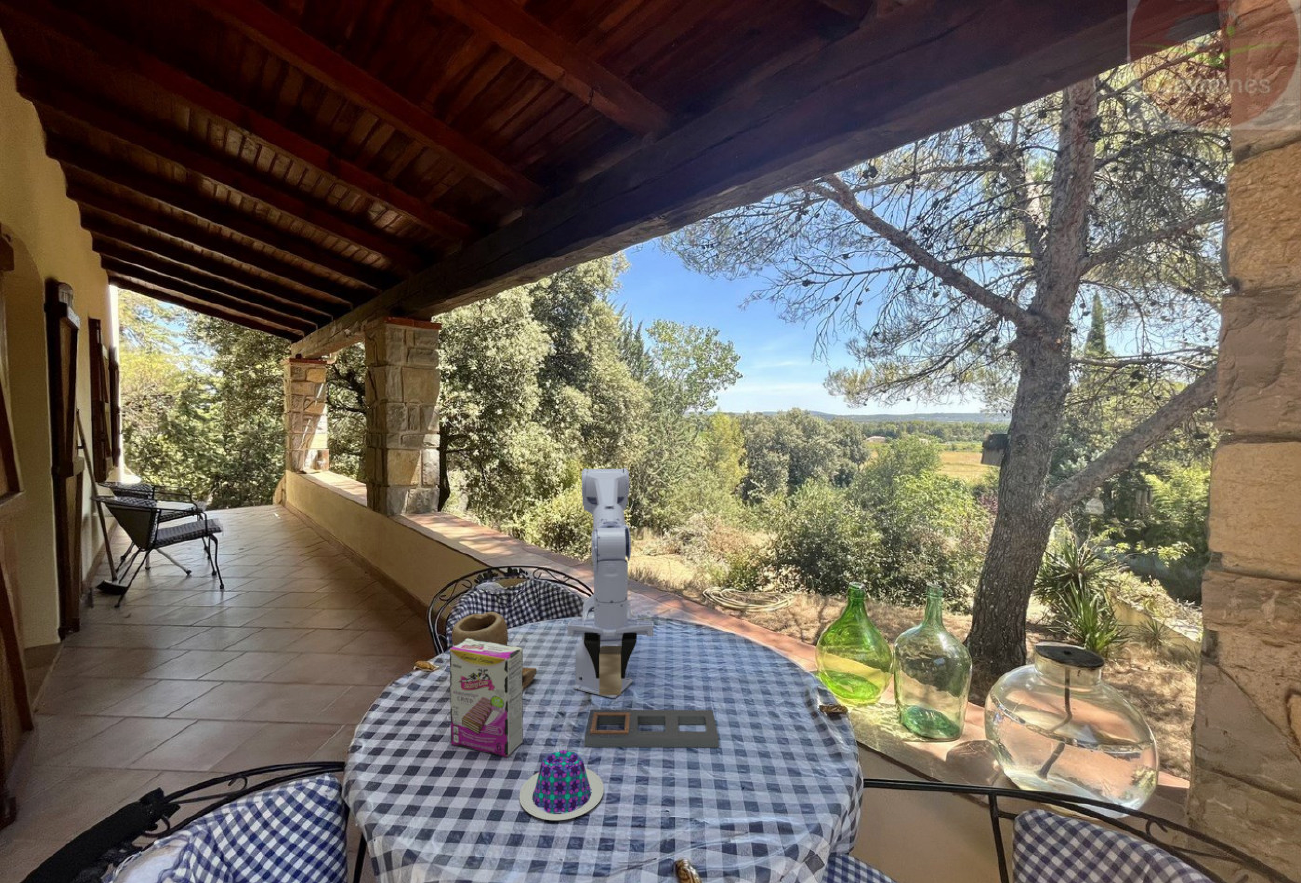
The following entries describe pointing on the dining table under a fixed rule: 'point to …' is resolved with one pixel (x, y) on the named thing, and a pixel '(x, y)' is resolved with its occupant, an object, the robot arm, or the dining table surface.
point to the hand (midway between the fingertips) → (610, 676)
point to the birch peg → (610, 670)
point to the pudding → (561, 787)
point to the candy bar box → (486, 696)
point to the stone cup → (487, 634)
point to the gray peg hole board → (651, 738)
